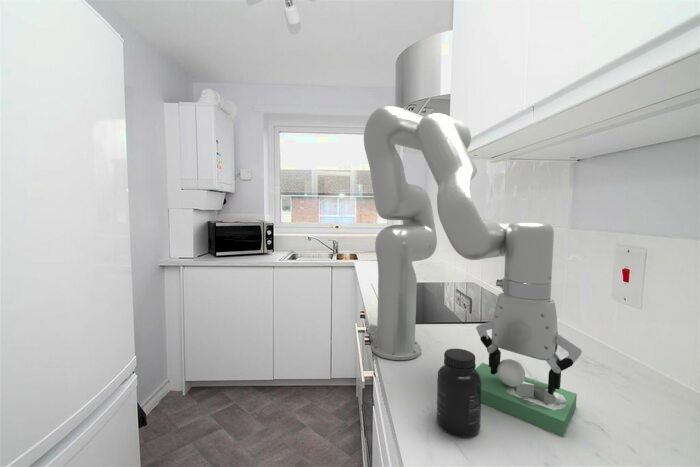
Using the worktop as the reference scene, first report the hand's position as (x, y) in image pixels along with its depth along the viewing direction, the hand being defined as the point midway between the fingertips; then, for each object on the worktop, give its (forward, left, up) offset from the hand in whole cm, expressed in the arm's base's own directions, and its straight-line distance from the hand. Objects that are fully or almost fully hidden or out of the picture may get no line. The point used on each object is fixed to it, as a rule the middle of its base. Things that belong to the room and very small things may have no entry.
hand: (522, 381), depth 60 cm
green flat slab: (-1, 0, -4) cm, 4 cm away
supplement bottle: (-6, -15, -4) cm, 16 cm away
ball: (-2, 0, +1) cm, 2 cm away
